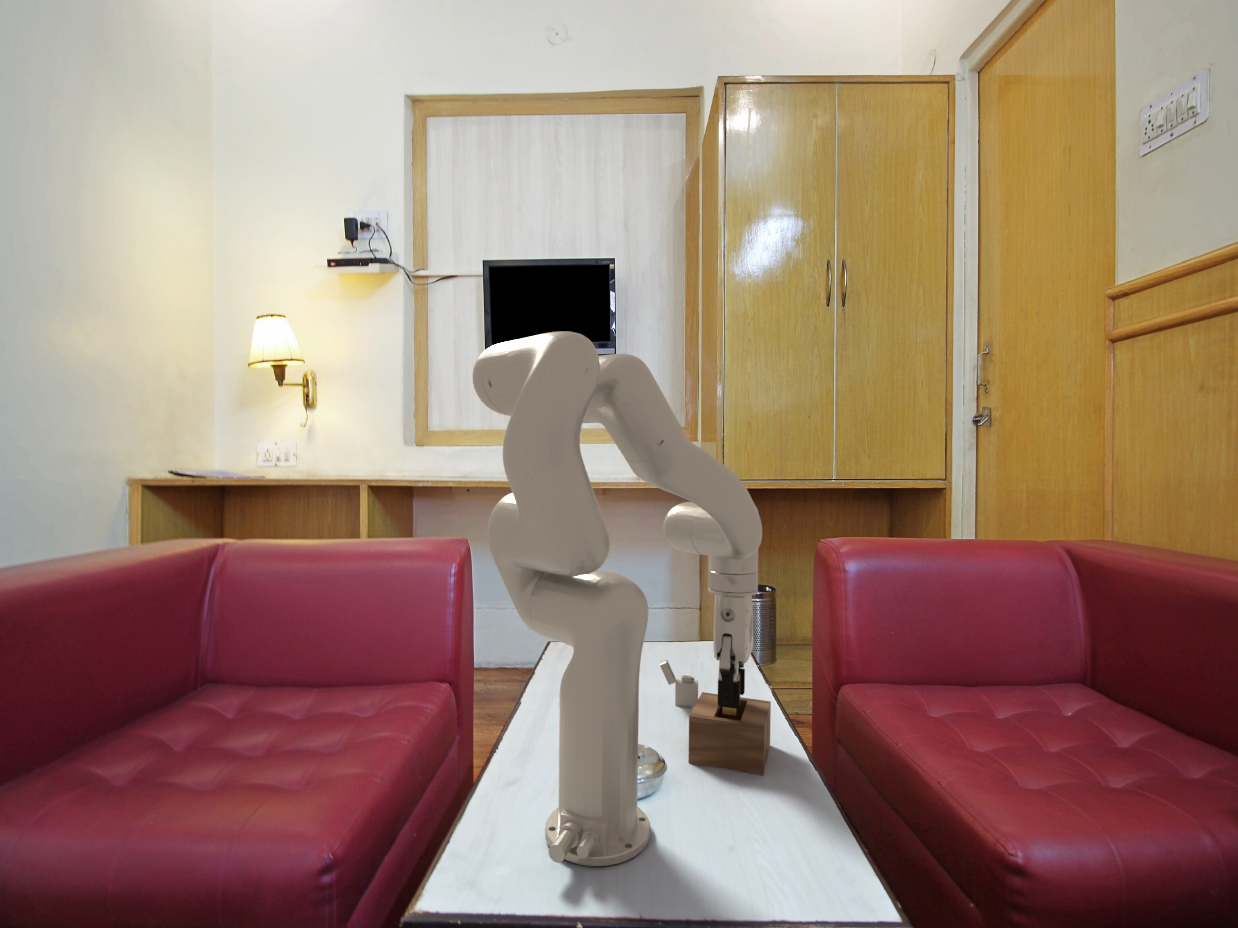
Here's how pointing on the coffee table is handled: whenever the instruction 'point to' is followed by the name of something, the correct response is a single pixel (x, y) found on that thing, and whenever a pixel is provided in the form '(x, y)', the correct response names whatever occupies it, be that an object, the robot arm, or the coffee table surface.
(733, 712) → the gold metal block
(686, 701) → the lighter
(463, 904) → the coffee table surface
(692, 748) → the box
